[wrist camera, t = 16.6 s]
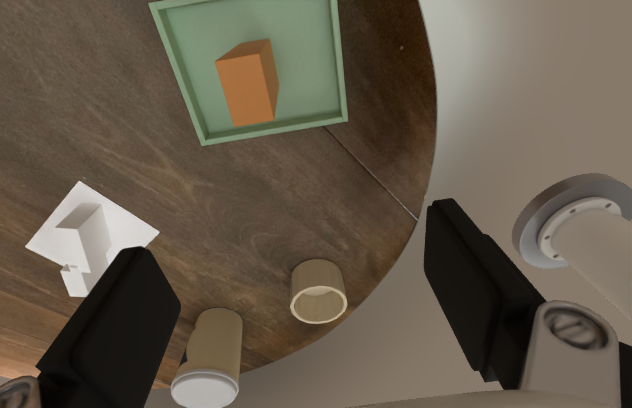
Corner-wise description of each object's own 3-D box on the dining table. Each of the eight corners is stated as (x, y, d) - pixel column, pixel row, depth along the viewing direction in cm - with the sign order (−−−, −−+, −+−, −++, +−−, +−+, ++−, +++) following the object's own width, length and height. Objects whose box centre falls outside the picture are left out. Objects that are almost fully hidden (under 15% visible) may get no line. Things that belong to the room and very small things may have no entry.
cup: (338, 255, 47) (344, 282, 42) (344, 291, 51) (349, 319, 47) (286, 263, 47) (285, 291, 42) (295, 298, 51) (296, 327, 47)
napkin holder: (77, 179, 37) (45, 205, 32) (161, 231, 42) (144, 260, 37) (24, 247, 42) (-11, 278, 37) (105, 287, 47) (83, 318, 42)
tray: (330, -28, 28) (334, -31, 26) (344, 114, 35) (348, 121, 33) (158, 3, 28) (147, 3, 26) (206, 137, 35) (201, 146, 33)
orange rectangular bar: (269, 38, 30) (259, 53, 20) (279, 85, 32) (274, 120, 22) (239, 43, 30) (214, 61, 20) (251, 90, 32) (234, 127, 22)
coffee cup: (185, 306, 50) (159, 381, 40) (242, 301, 51) (231, 374, 41) (199, 340, 56) (179, 413, 45) (251, 335, 56) (242, 407, 46)
